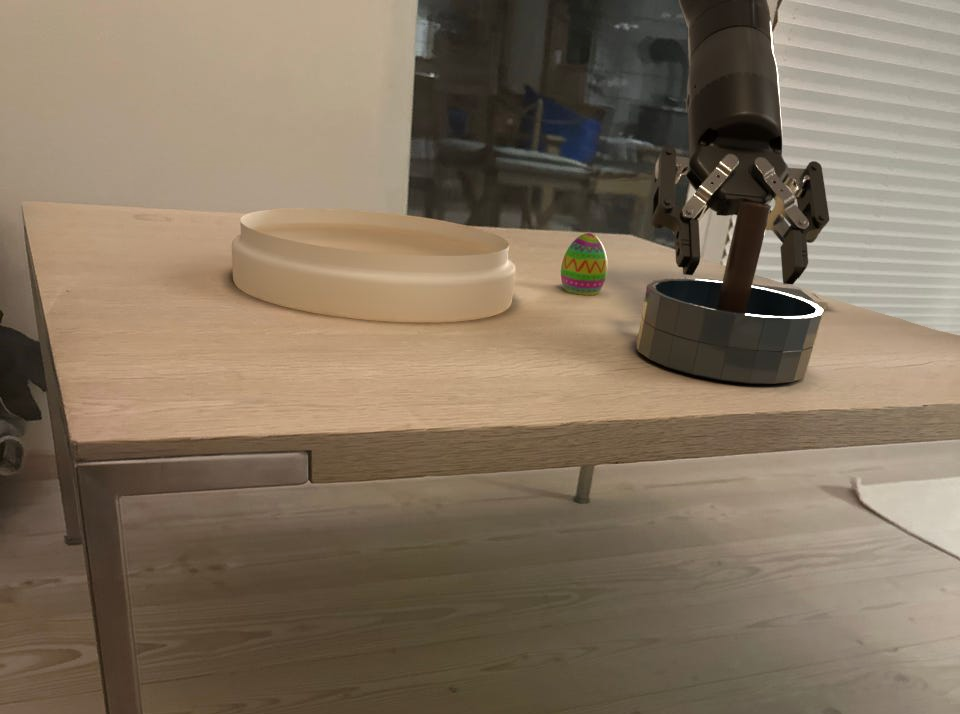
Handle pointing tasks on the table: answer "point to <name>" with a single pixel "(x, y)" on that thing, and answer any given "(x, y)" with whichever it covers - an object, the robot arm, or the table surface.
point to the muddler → (743, 256)
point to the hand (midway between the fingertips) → (743, 274)
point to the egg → (584, 266)
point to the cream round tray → (372, 265)
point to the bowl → (727, 333)
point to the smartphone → (790, 293)
